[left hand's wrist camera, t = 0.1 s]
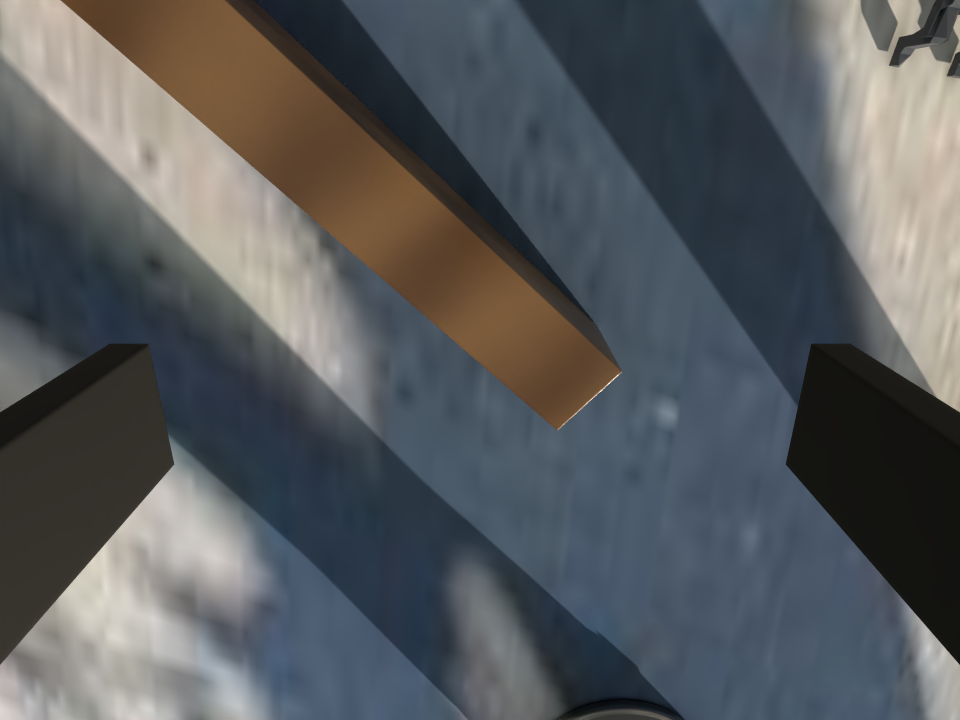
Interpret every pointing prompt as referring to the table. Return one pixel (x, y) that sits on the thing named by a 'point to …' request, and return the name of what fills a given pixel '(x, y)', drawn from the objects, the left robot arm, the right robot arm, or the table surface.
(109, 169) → the table surface
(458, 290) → the bar
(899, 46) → the toy
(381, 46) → the table surface
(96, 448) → the left robot arm
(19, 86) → the table surface
